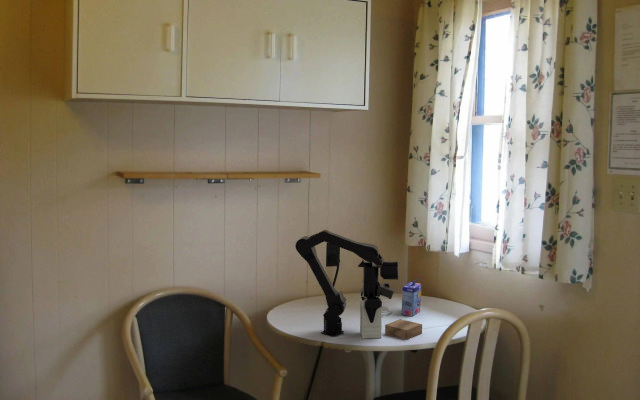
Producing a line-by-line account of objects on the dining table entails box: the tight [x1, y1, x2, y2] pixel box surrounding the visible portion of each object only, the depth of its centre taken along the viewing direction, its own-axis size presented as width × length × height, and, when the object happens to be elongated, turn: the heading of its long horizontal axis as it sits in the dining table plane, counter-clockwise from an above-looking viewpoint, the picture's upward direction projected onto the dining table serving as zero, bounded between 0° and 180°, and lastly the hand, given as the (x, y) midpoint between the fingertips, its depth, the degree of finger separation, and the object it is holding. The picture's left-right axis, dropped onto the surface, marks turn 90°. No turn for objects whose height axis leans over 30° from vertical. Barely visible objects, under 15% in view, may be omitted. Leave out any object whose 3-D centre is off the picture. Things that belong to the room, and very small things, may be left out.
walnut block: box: [384, 318, 423, 341], centre depth 235 cm, size 10×10×4 cm
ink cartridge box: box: [401, 278, 422, 318], centre depth 262 cm, size 10×6×14 cm, turn 152°
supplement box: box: [359, 299, 382, 339], centre depth 233 cm, size 7×7×13 cm
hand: (370, 319), depth 233 cm, fingers closed on supplement box, 7 cm apart
